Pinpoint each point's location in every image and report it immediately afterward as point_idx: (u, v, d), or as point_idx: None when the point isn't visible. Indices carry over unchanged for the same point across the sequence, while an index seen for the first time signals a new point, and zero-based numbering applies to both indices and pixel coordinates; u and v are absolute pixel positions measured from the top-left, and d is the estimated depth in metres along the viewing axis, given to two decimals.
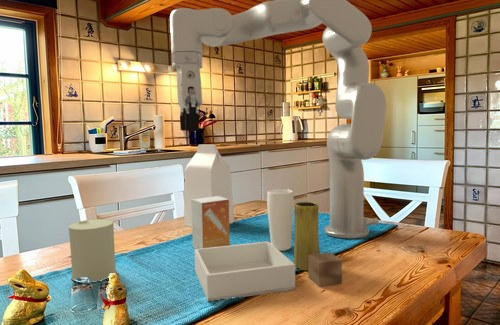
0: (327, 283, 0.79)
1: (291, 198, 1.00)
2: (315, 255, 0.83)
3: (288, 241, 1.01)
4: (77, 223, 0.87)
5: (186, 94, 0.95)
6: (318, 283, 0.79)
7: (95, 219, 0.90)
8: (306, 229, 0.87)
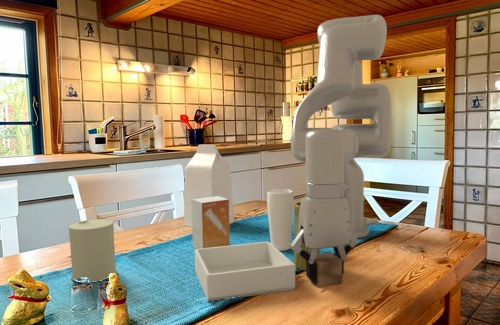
0: (327, 283, 0.79)
1: (291, 198, 1.00)
2: None
3: (288, 241, 1.01)
4: (77, 223, 0.87)
5: None
6: (318, 283, 0.79)
7: (95, 219, 0.90)
8: None
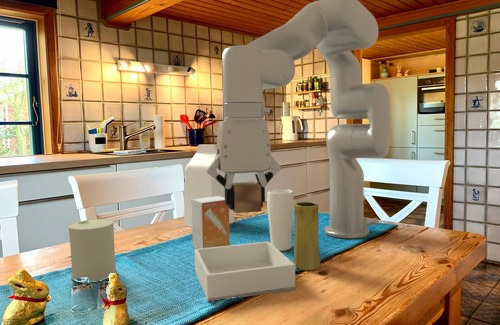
0: (245, 209, 0.75)
1: (291, 198, 1.00)
2: (236, 183, 0.78)
3: (288, 241, 1.01)
4: (77, 223, 0.87)
5: None
6: (235, 209, 0.75)
7: (95, 219, 0.90)
8: (306, 229, 0.87)
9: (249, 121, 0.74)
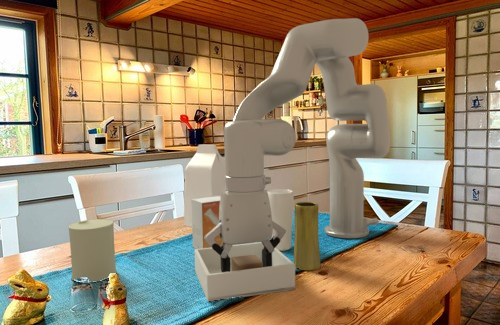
0: None
1: (291, 198, 1.00)
2: (238, 257, 0.80)
3: (288, 241, 1.01)
4: (77, 223, 0.87)
5: (272, 226, 0.78)
6: None
7: (95, 219, 0.90)
8: (306, 229, 0.87)
9: (251, 194, 0.75)
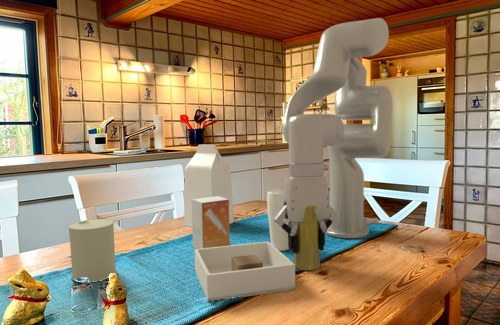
0: None
1: None
2: (238, 257, 0.80)
3: None
4: (77, 223, 0.87)
5: None
6: None
7: (95, 219, 0.90)
8: (306, 229, 0.87)
9: (313, 179, 0.86)
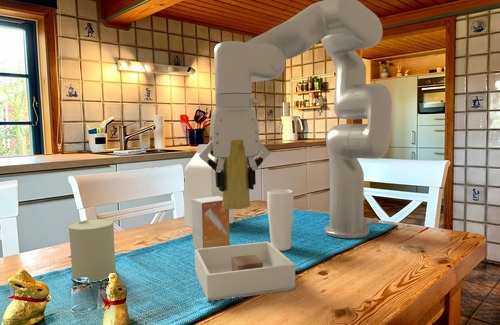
0: None
1: (291, 198, 1.00)
2: (238, 257, 0.80)
3: (288, 241, 1.01)
4: (77, 223, 0.87)
5: None
6: None
7: (95, 219, 0.90)
8: (233, 164, 0.81)
9: (239, 110, 0.81)
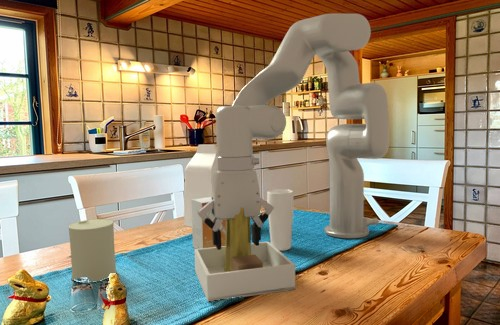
0: None
1: (291, 198, 1.00)
2: (238, 257, 0.80)
3: (288, 241, 1.01)
4: (77, 223, 0.87)
5: None
6: None
7: (95, 219, 0.90)
8: (236, 231, 0.83)
9: (240, 173, 0.82)
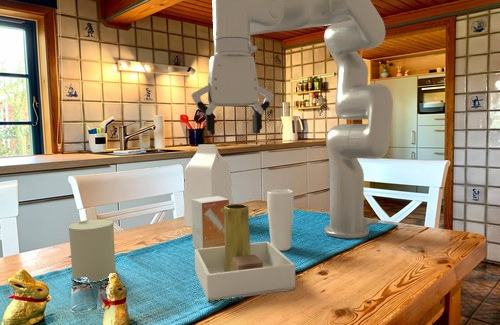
0: None
1: (291, 198, 1.00)
2: (238, 257, 0.80)
3: (288, 241, 1.01)
4: (77, 223, 0.87)
5: None
6: None
7: (95, 219, 0.90)
8: (235, 232, 0.83)
9: (237, 56, 0.80)
